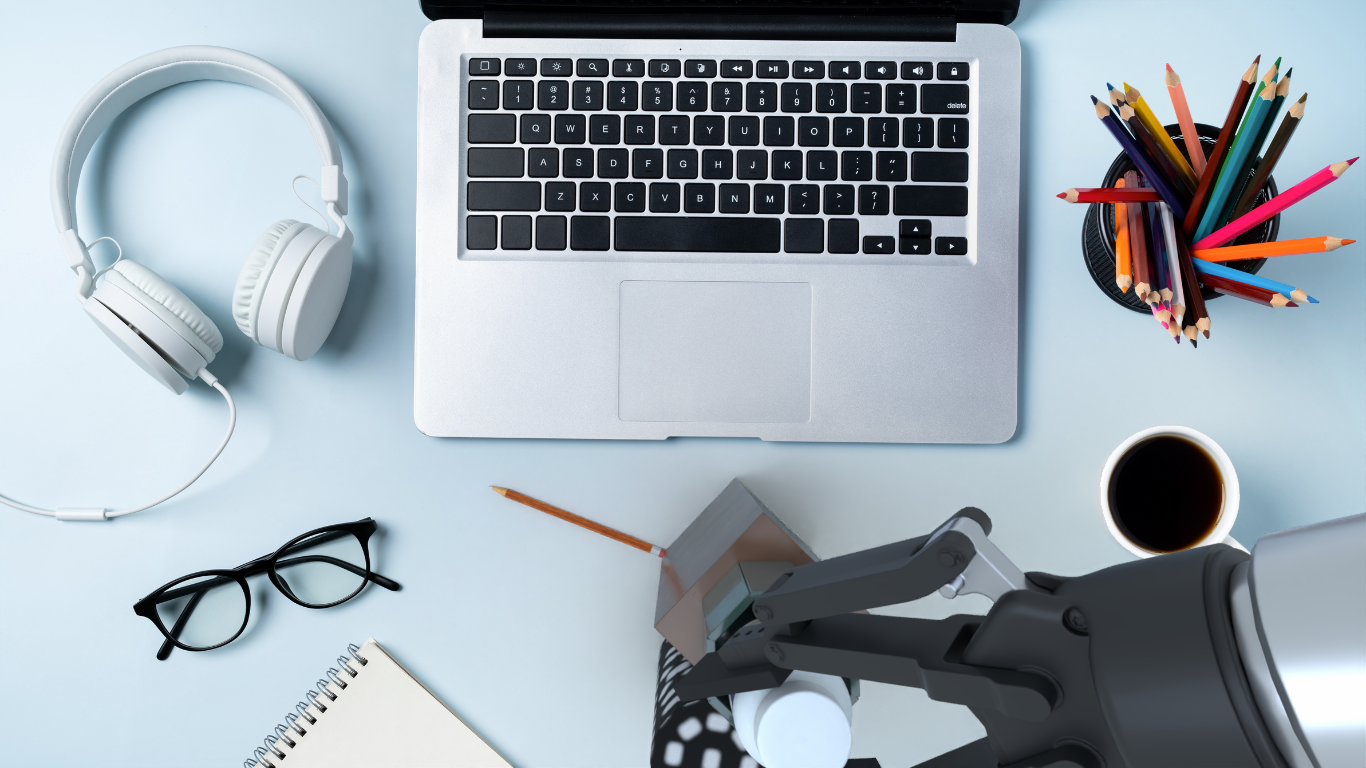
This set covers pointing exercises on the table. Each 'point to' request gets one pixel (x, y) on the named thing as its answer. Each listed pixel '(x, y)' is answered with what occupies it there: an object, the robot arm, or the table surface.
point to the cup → (742, 614)
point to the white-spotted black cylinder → (690, 725)
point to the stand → (718, 561)
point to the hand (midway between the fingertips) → (727, 732)
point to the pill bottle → (796, 721)
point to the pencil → (580, 521)
